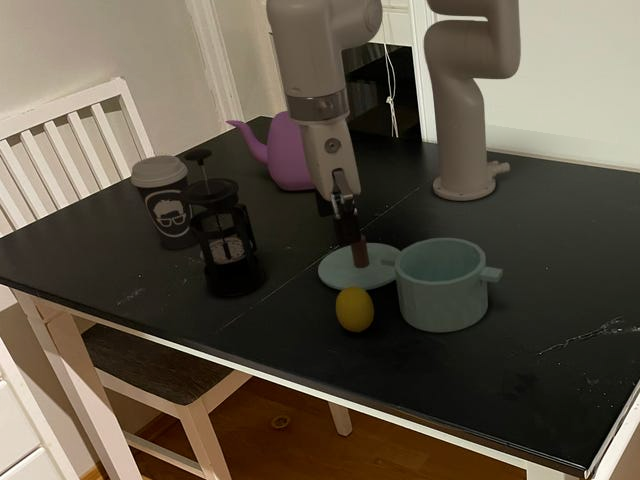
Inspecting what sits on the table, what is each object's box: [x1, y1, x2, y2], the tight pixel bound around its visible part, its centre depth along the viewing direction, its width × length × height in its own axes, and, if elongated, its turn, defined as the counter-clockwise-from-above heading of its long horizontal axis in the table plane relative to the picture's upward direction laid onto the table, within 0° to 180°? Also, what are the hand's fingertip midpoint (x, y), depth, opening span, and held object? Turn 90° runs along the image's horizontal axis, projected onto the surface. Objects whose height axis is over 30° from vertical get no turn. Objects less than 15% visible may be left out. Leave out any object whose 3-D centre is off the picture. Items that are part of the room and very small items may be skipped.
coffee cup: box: [130, 154, 199, 250], centre depth 132 cm, size 10×10×15 cm
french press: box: [179, 148, 265, 299], centre depth 117 cm, size 12×9×23 cm
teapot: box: [225, 110, 316, 191], centre depth 153 cm, size 23×21×15 cm
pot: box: [381, 236, 504, 333], centre depth 113 cm, size 14×19×8 cm
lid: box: [317, 234, 402, 291], centre depth 123 cm, size 15×15×6 cm
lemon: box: [335, 286, 375, 333], centre depth 109 cm, size 6×6×8 cm
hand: (339, 228), depth 101 cm, fingers open, 9 cm apart
